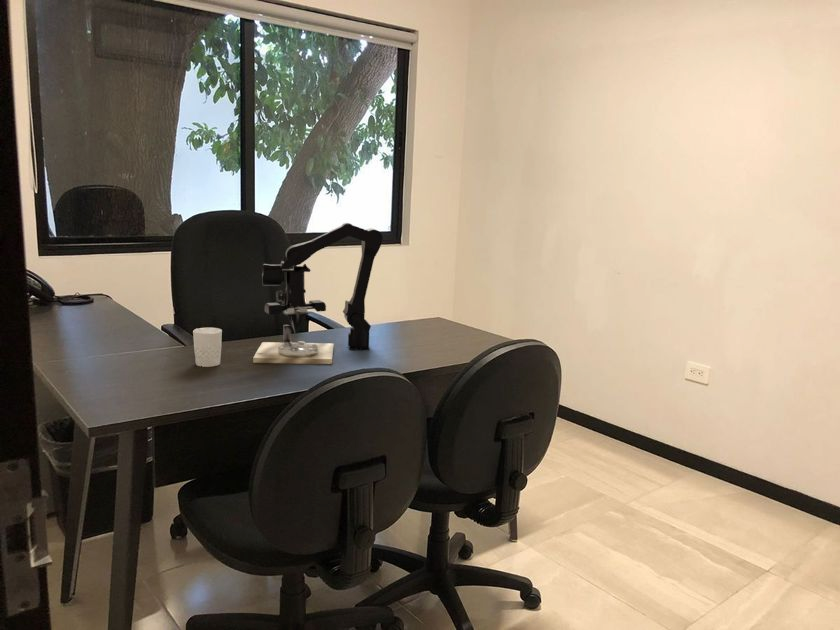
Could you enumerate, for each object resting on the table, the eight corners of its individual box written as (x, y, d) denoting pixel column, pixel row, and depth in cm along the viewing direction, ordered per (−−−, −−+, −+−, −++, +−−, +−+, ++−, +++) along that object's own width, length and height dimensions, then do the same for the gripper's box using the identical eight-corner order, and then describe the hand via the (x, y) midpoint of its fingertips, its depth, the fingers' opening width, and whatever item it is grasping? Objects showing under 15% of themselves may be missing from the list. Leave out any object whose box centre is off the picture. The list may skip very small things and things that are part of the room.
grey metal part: (323, 355, 196) (323, 335, 195) (285, 358, 190) (285, 338, 189) (303, 342, 212) (303, 323, 211) (267, 344, 206) (267, 325, 205)
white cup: (187, 364, 185) (186, 330, 184) (208, 359, 192) (207, 326, 190) (207, 369, 182) (207, 334, 180) (228, 363, 189) (227, 330, 187)
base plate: (333, 347, 213) (333, 343, 212) (331, 363, 193) (331, 358, 193) (262, 346, 210) (262, 341, 210) (253, 362, 190) (253, 357, 190)
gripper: (315, 281, 217) (315, 326, 220) (259, 283, 208) (260, 330, 211) (326, 285, 207) (326, 333, 210) (268, 288, 198) (269, 337, 201)
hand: (295, 333), depth 208 cm, fingers closed
